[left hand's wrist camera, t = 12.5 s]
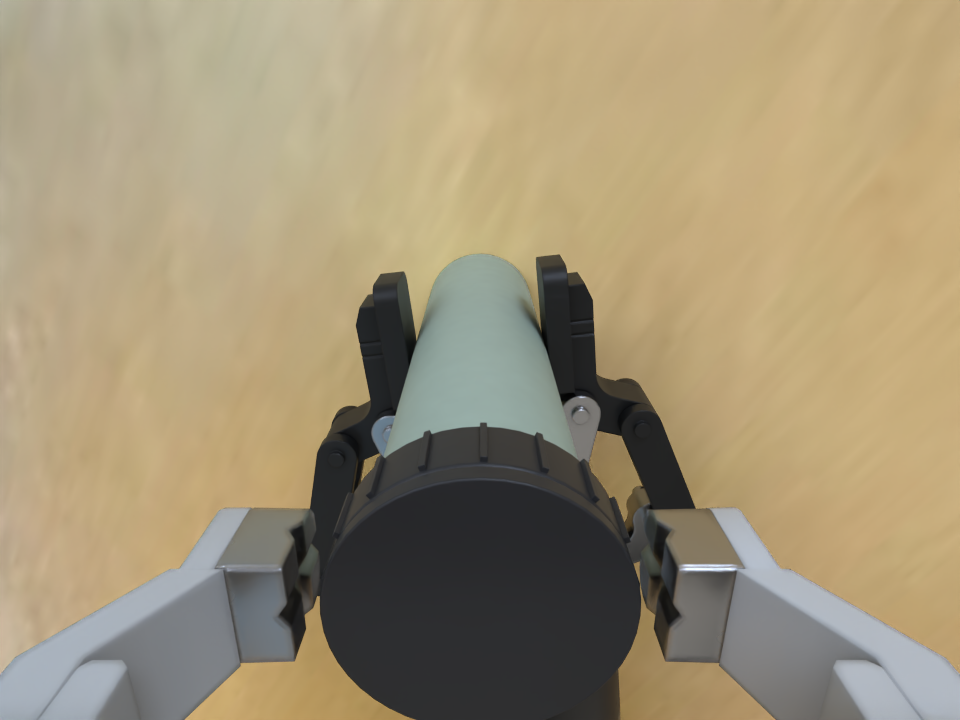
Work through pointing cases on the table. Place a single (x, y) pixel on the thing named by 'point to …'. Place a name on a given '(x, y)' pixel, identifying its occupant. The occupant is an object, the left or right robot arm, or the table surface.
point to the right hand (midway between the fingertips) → (468, 272)
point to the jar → (480, 359)
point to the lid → (480, 579)
